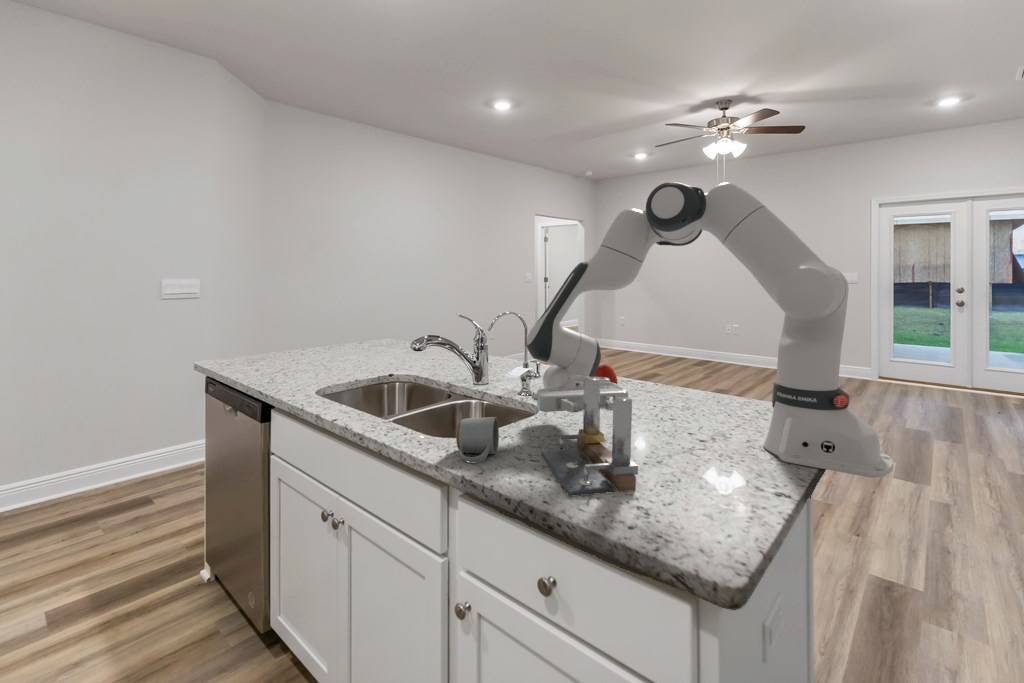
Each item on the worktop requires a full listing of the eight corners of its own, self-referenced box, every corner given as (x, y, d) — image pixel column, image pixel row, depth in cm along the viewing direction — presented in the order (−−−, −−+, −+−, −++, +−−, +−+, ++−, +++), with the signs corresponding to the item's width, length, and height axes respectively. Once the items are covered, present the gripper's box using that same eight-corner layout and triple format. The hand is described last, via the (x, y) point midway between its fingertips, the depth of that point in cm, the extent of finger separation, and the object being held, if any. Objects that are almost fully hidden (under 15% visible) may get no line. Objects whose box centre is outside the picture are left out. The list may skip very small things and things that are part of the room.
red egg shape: (622, 401, 146) (623, 365, 145) (596, 402, 145) (597, 366, 143) (610, 394, 154) (611, 360, 153) (586, 396, 153) (586, 362, 151)
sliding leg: (556, 445, 105) (557, 378, 103) (596, 442, 106) (597, 376, 104) (562, 452, 100) (562, 383, 98) (603, 449, 102) (605, 381, 100)
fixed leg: (579, 475, 89) (580, 398, 87) (627, 471, 91) (629, 396, 89) (587, 485, 85) (589, 404, 83) (637, 481, 86) (639, 402, 84)
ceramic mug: (462, 445, 109) (462, 411, 108) (499, 446, 108) (499, 412, 107) (451, 464, 99) (450, 427, 97) (492, 465, 98) (491, 428, 97)
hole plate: (541, 454, 103) (541, 450, 103) (578, 451, 104) (578, 447, 104) (569, 496, 84) (569, 490, 83) (613, 492, 85) (613, 487, 85)
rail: (576, 445, 109) (577, 434, 108) (589, 444, 109) (590, 433, 109) (619, 491, 85) (619, 478, 85) (635, 490, 86) (635, 476, 85)
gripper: (529, 381, 113) (544, 395, 99) (614, 377, 117) (639, 390, 103) (529, 407, 114) (544, 425, 100) (613, 403, 117) (638, 419, 104)
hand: (593, 407), depth 102 cm, fingers open, 6 cm apart
